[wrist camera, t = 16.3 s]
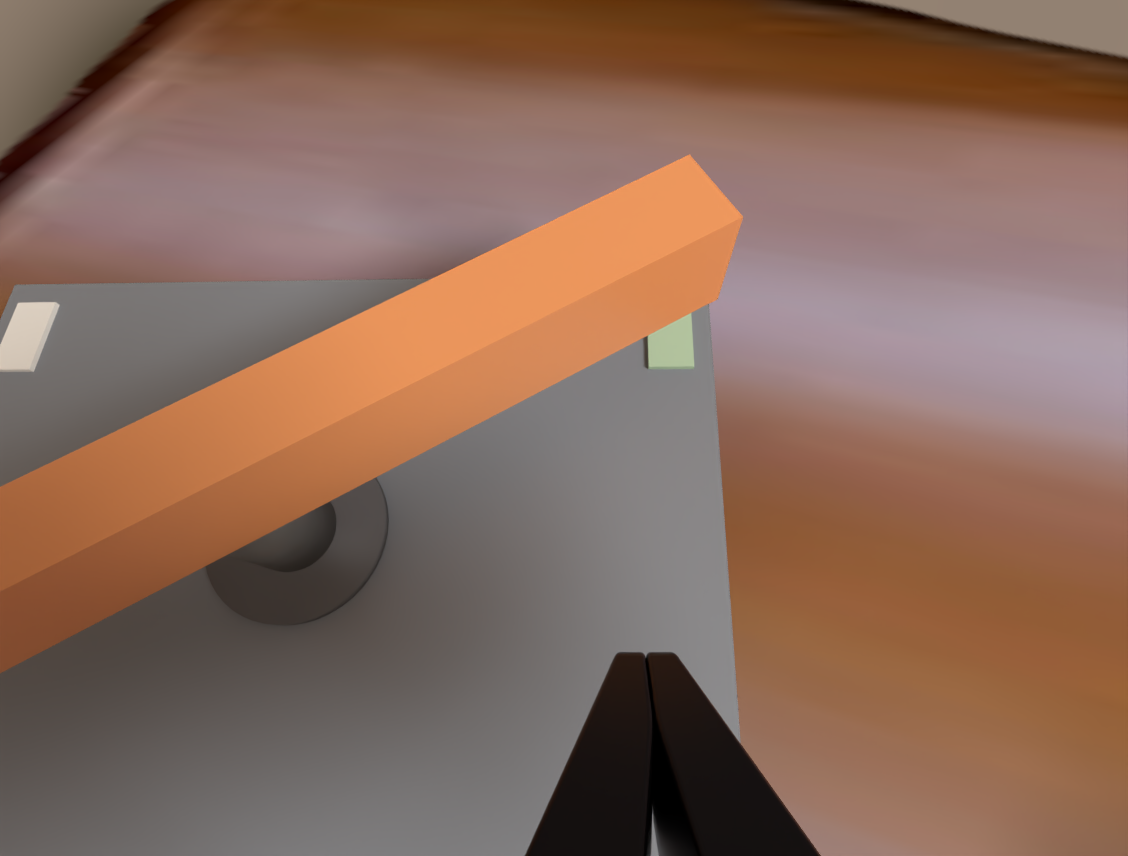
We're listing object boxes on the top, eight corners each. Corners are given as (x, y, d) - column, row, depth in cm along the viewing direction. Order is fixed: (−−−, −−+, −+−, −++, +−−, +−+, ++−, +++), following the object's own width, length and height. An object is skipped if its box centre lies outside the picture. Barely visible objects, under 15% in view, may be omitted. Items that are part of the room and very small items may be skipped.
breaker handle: (703, 360, 22) (747, 222, 15) (-159, 821, 18) (-618, 913, 11) (661, 303, 23) (685, 149, 16) (-164, 728, 19) (-590, 761, 12)
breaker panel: (734, 891, 18) (757, 930, 15) (-140, 845, 20) (-253, 872, 17) (697, 309, 25) (708, 268, 23) (63, 316, 27) (6, 278, 24)
